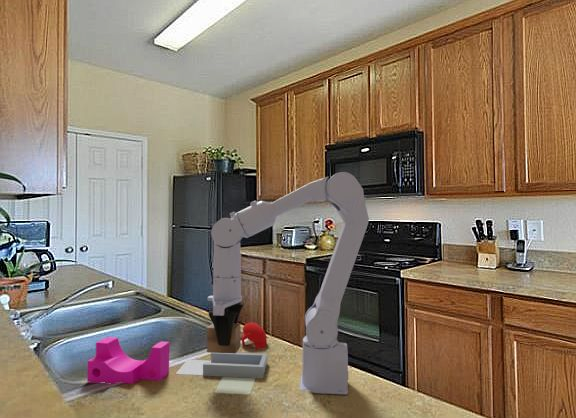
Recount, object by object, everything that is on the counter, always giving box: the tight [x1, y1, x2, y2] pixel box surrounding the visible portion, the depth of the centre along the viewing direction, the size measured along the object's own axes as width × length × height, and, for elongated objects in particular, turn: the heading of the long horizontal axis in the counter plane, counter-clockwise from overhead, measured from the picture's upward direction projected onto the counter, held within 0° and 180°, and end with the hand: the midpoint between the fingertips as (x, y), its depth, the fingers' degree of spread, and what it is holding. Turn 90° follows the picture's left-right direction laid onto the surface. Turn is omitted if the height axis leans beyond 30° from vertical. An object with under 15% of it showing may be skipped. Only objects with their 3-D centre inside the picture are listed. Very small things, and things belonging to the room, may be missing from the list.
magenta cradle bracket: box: [86, 336, 170, 385], centre depth 82 cm, size 15×6×8 cm, turn 80°
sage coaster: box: [214, 376, 256, 395], centre depth 78 cm, size 7×7×1 cm
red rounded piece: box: [241, 322, 268, 350], centre depth 102 cm, size 8×6×6 cm
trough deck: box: [175, 352, 268, 379], centre depth 86 cm, size 19×8×3 cm, turn 86°
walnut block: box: [206, 322, 242, 354], centre depth 80 cm, size 6×4×5 cm, turn 83°
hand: (226, 341), depth 80 cm, fingers closed on walnut block, 4 cm apart
